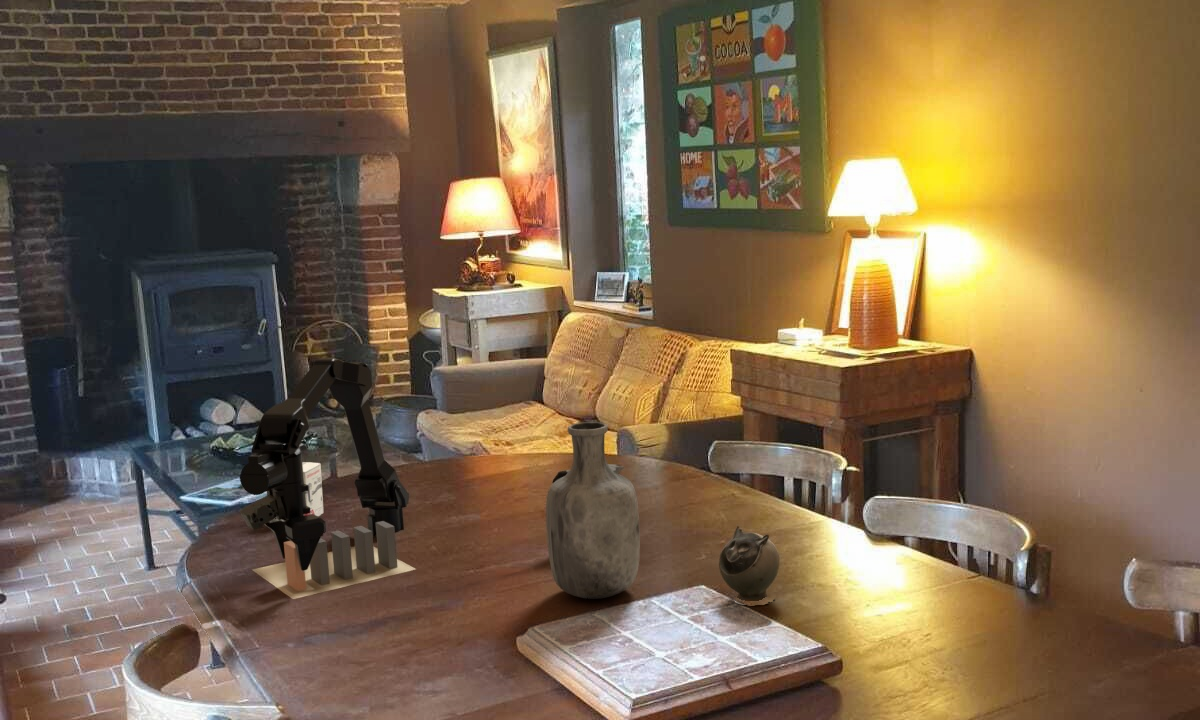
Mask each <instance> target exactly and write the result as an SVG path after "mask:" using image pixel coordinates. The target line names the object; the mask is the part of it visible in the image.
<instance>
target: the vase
mask: <svg viewBox="0 0 1200 720" xmlns="http://www.w3.org/2000/svg"><path fill="white" fill-rule="evenodd" d="M608 429H609V428H608V424H606V423H603V422H597V421H587V422H585V421H584V422H577V423H574V424H570V425H568V426H567V432H568V433H567V434H568V435H570V436H571V443H572V453H573V454H572V455H573V456H572V457H573V459H572V464H571V467H570V468H569V469H568V470H569V472H568V473H567V474H566V476H564V477H562V478H560V479H558V480H557V481H555V482H554V483H553V484H551V485H550V487H549V489H548V490H547V495H546V501H545V519H546V521H545V522H546V523H545V524H546V539H547V551H548V558H549V565H550V570H551V574H552V578H553V580H554V582H555V584H556V585H557V586H558V587H559V589H560V590H562V591H563V592H565V593H567V594H569V595H571V596H573V597H576V598H582V599H587V598H588V599H589V600H590V599H591V600H595V599H605V598H610V597H613V596H615V595H618V594H620V593H622V592H624V591H626V590H627V589H628V588H629V587H630V586H631V585H632V584H633V583H634V582H635V580H636V578H637V576H638V572H639V566H640V565H639V564H640V544H641V543H640V536H641V535H640V517H639V506H638V505H639V504H638V498H637V493H636V490H635V487H634V485H633V483H632V481H630V479H628V478H627V477H626V476H623V475H621V474H620V473H619V474H616V473H614V472H613V471H612V470H611V469H610V467H609V466H608V464H609V463H608V462H607V460H606V459H607V458H606V453H605V434H606V433H607V432H608Z"/></svg>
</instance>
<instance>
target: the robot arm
mask: <svg viewBox="0 0 1200 720" xmlns="http://www.w3.org/2000/svg"><path fill="white" fill-rule="evenodd" d="M372 379H373V378H372V371H371V369H370V367H369V365H368V364H367V363H364V362H347V361H344V360H343V361H342V360H340V359H337V358H316V359H314V360H313V361H311V364H310V368H309V370H308V371H307V373H306V374H305V375H304V376H303V377H302V379H301V380H300V382H299V383H298V384H297V386H296V387H295V388H294V389H293V391H292V392H291V393H290V394H289V396H288V397H287V398H286V399H285V400H284V401H282V402H279V403H277V404H274V405H273V406H272V407H270V408H269V409H268V410H266V412H265V413H263V414H262V417H261V418H260V420H259V423H258V426H257V430H256V433H255V437H254V439H253V444H252V447H251V455H248V457H247V460H248V463H247V464H245V465H244V466H242V469H241V471H240V474H239V481H240V484H241V487H242V488H243V489H244V491H246V493H248V494H250V495H253V496H259V495H263V494H264V493H266V495H265V496H264V497H261V498H259V499H257V500H255V501H254V502H252V503H250V504H248V505H247V506H245V507H243V508H242V509H240V511H239V512H240V515H241V516H242V518H243V520H244V522H245V524H246V527H248V528H250V529H251V530H253V531H257V530H259V529H261V528H263V526H264V525H265V526H266V527H267V528H268V529H270V530H271V532H272V534H273V536H274V539H275V541H276V544H277V546H278V549H279V552H280V555H281V557H282V558H283V559H284V560H285V551H284V542H287V541H292V542H293V543H294V544H295V548H296V552H297V556H298V560H299V564H300V568H301V570H302V571H304V570H307V569H308V567H309V564H310V562H311V559H312V557H313V554H314V551H315V549H316V547H317V544H318V542H319V540H320V538H321V537H324V534H325V533H326V532H327V524H326V521H325V520H324V519H323V518H321V517H320V516H316V515H314V514H310V515H305V516H304V514H308V513H310V507H308V506H306V498H305V491H309V490H308V485H306V484H304V476H303V465H302V462H303V456H302V452H305V451H306V450H307V449H308V448H307V445H305V444H304V443H302V441H303V439H304V438H305V435H306V434H307V432H308V429H309V428H310V421H309V418H310V415H311V413H312V412H313V411H314V409H315V408H316V407H317V405H318V404H319V402H320V401H321V400H322V399H323V397H324V396H325V395H326V393H327V391H328V390H329V391H330V394H331V397H332V398H333V400H335V401H336V402H337V403H338V404H340V406H342V407H343V409H344V412H345V416H346V420H347V424H348V427H349V430H350V434H351V437H352V441H353V445H354V448H355V449H354V450H355V452H356V456H357V458H358V462H359V467H360V469H359V472H358V475H357V476H356V477H357V478H356V479H355V481H354V485H355V488H356V493H357V497H358V498H359V501H360V505H361V507H362V509H368V514H367V515H366V518H367V519H366V520H367V529H369V530H371V531H372V535H373V537H377V536H376V522H381V521H384V522H386V523H388V524H391V525H393V526H394V528H395V534H396V533H399V532H401V531H405V523H404V511H403V508H407V507H408V504H409V500H410V494H409V492H408V490H407V489H406V488H405V487H404V485H403V484H402V482H401V481H400V479H399V476H398V473H397V472H396V469H395V468H394V467H393V466H391V464H389V463H388V461H386V459H385V458H384V454H383V450H382V447H381V443H380V439H379V436H378V432H377V428H376V424H375V421H374V417H373V413H372V409H371V406H370V403H369V397H370V395H371V392H372V389H373V380H372ZM321 539H322V538H321Z"/></svg>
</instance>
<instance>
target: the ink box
mask: <svg viewBox="0 0 1200 720" xmlns="http://www.w3.org/2000/svg"><path fill="white" fill-rule="evenodd" d="M302 465H303V476H304V484H306V485H308V490H309V491H305V498H306V506H308V507H310V513H308V514H304V516H305V515H310V514H314V515H316V516H318V517H320V516H322V515H323V514H324V498H323V485H322V484H323V483H322V480H323V479H322V467H321V466H322V465H321V463H320V462H311V461H310V462H309V461H308V462H307V461H306V462H305V461H302Z"/></svg>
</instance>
